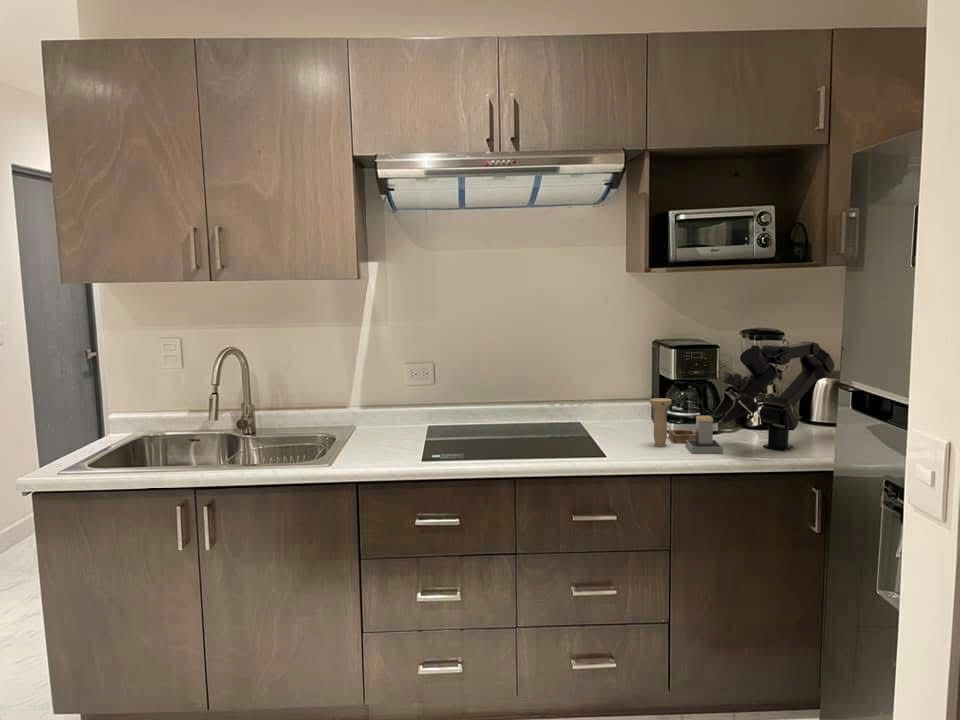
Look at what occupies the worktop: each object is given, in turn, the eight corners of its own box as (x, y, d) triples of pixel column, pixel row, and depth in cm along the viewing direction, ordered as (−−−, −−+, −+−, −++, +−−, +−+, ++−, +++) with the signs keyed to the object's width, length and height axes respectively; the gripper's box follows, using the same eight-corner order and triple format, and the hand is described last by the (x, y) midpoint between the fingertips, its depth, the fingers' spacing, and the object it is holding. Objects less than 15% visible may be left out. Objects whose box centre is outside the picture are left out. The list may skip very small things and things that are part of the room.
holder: (694, 438, 218) (694, 429, 218) (701, 445, 209) (701, 435, 209) (666, 438, 219) (666, 429, 219) (671, 445, 210) (671, 435, 210)
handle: (647, 445, 210) (648, 398, 208) (667, 445, 210) (668, 398, 209) (652, 449, 205) (652, 401, 204) (672, 448, 206) (673, 400, 204)
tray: (714, 447, 206) (715, 439, 206) (722, 455, 197) (722, 447, 197) (685, 447, 207) (685, 439, 206) (692, 455, 198) (692, 447, 198)
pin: (709, 447, 204) (709, 415, 202) (712, 451, 200) (713, 418, 198) (695, 447, 204) (696, 415, 203) (698, 451, 200) (699, 418, 199)
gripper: (730, 358, 207) (692, 393, 210) (747, 366, 189) (706, 405, 191) (755, 383, 207) (718, 418, 210) (776, 394, 189) (734, 432, 191)
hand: (718, 417), depth 201 cm, fingers open, 9 cm apart
